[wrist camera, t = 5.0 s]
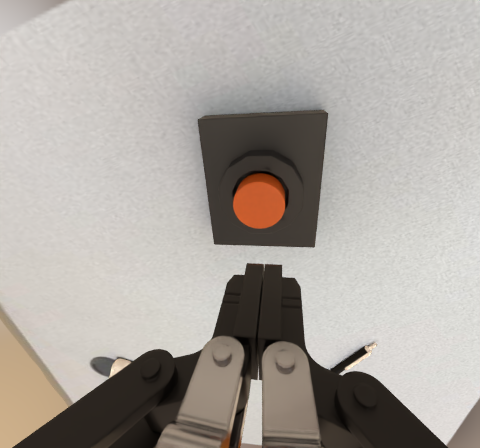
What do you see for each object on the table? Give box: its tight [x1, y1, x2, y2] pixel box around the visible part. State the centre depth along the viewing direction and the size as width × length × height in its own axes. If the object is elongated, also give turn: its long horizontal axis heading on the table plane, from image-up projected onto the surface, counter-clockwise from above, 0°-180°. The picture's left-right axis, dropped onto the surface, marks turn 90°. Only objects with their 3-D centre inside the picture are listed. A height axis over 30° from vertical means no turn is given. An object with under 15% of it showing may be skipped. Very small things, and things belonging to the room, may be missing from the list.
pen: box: [330, 343, 377, 374], centre depth 37 cm, size 1×19×1 cm, turn 151°
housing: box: [198, 110, 328, 247], centre depth 23 cm, size 12×10×4 cm
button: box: [233, 173, 285, 229], centre depth 20 cm, size 4×4×2 cm
